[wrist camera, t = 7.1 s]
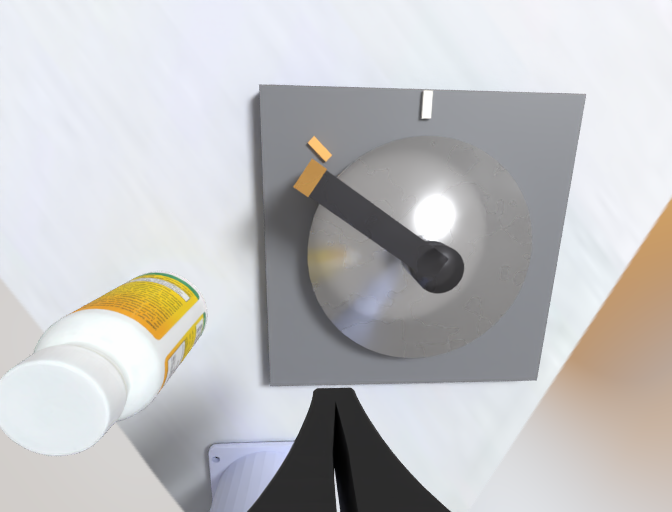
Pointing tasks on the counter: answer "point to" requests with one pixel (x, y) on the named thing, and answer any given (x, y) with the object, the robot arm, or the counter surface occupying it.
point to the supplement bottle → (101, 364)
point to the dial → (417, 245)
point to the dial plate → (358, 139)
